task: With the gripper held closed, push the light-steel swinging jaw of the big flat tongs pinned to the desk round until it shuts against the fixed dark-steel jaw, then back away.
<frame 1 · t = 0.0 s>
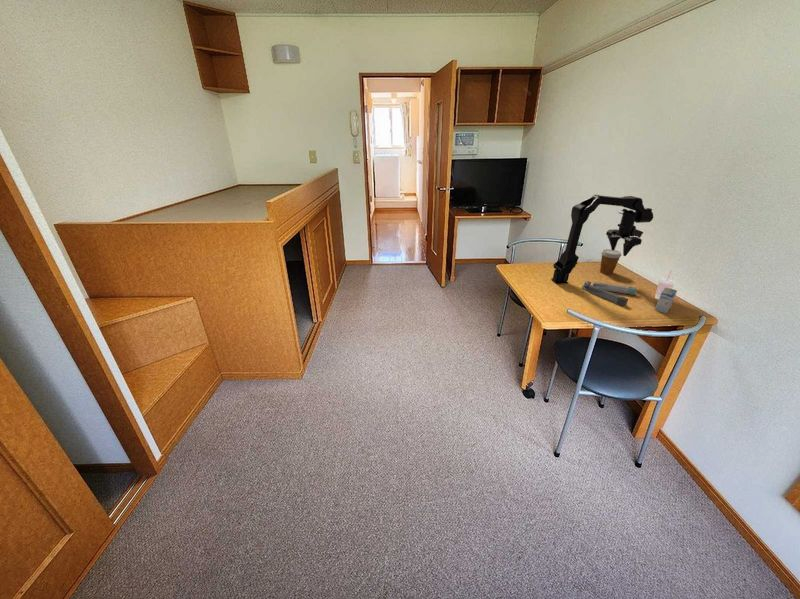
hand: (618, 253, 171), 15 cm above the table, fingers open, 9 cm apart
disposable coffee cup: (606, 272, 187), on the table
swinging jaw: (613, 288, 164), point 2 cm above the table, hinge at 38.0°
medicine box: (662, 309, 148), on the table
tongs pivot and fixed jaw: (586, 288, 168), on the table
beverage cup: (660, 298, 157), on the table
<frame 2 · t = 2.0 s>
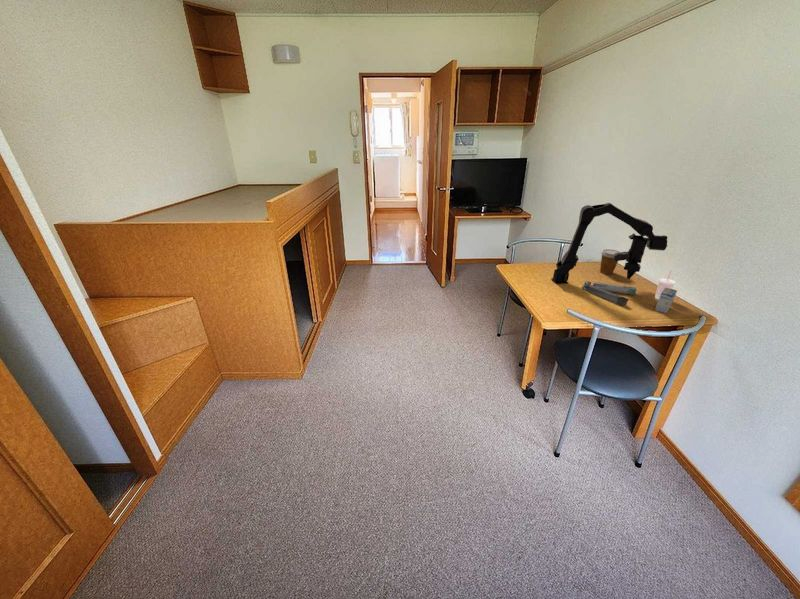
hand: (628, 278, 165), 5 cm above the table, fingers closed
nothing on the table moved.
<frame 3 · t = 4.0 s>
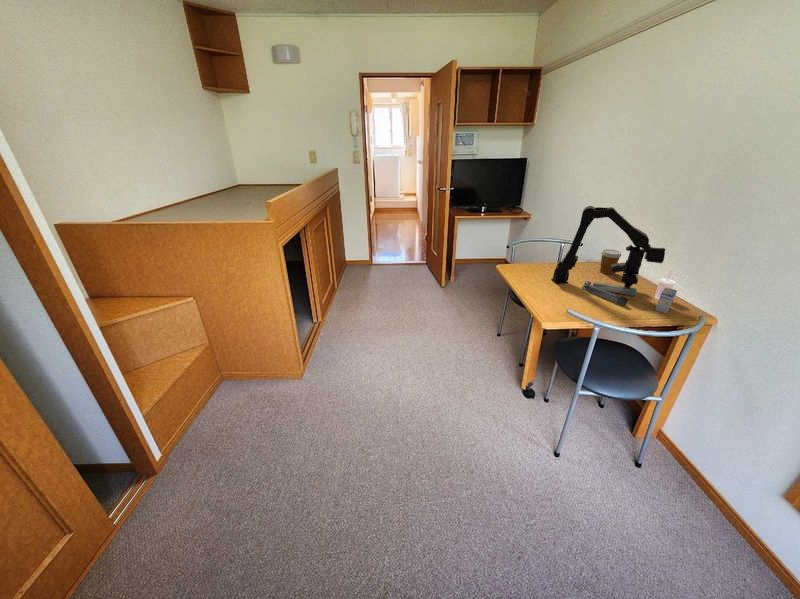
hand: (625, 289, 163), 1 cm above the table, fingers closed
swinging jaw: (613, 288, 163), point 2 cm above the table, hinge at 34.9°, touching gripper
everything else where it was.
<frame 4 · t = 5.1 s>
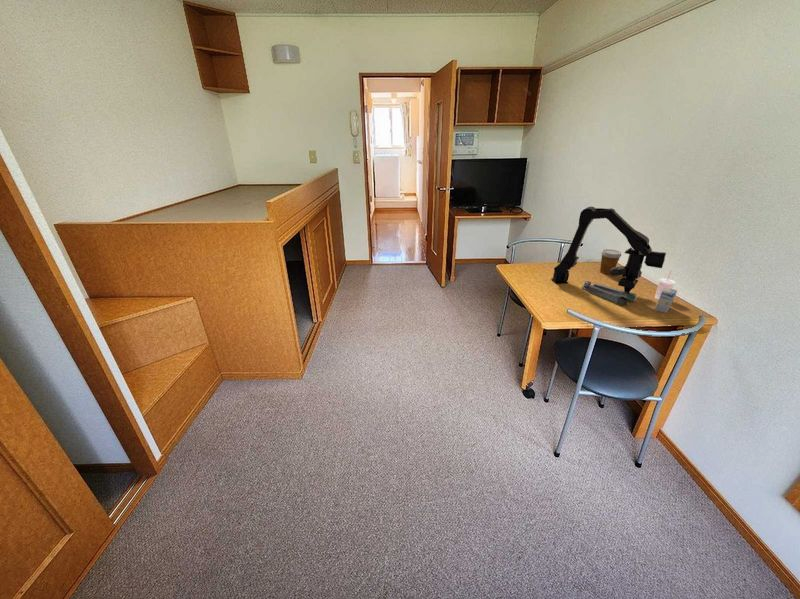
hand: (625, 294, 158), 1 cm above the table, fingers closed
swinging jaw: (613, 291, 160), point 2 cm above the table, hinge at 14.3°, touching gripper
everything else where it was.
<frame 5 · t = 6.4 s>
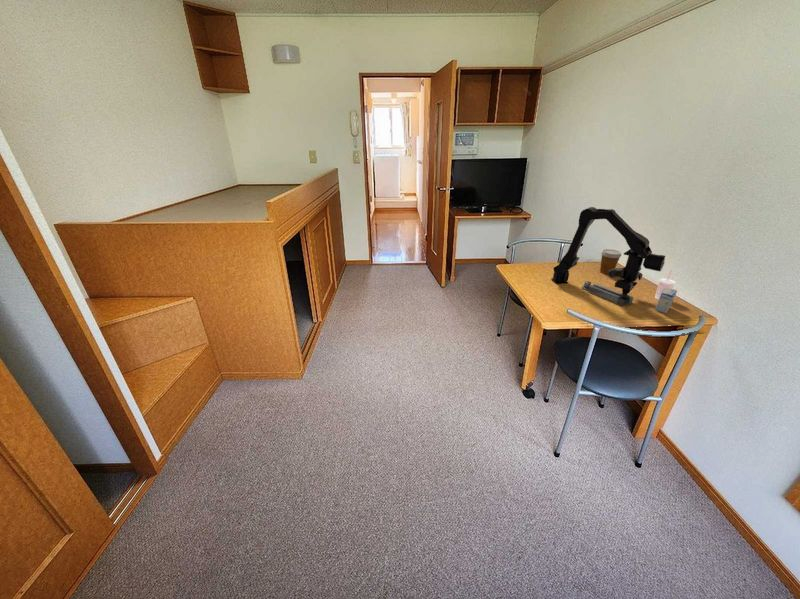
hand: (623, 296, 156), 1 cm above the table, fingers closed
swinging jaw: (611, 293, 159), point 2 cm above the table, hinge at 2.7°, touching gripper
everything else where it was.
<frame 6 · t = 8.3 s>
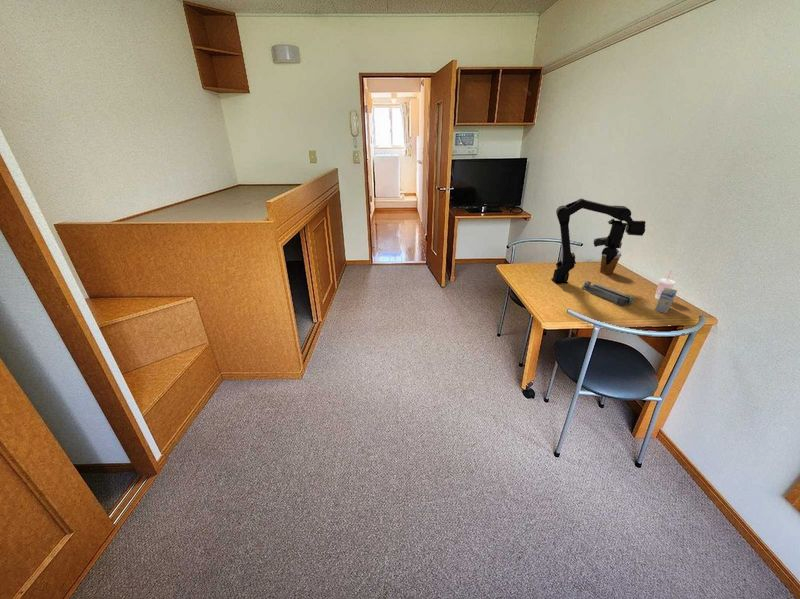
hand: (607, 264, 165), 12 cm above the table, fingers closed
swinging jaw: (611, 293, 159), point 2 cm above the table, hinge at 2.7°
everything else where it was.
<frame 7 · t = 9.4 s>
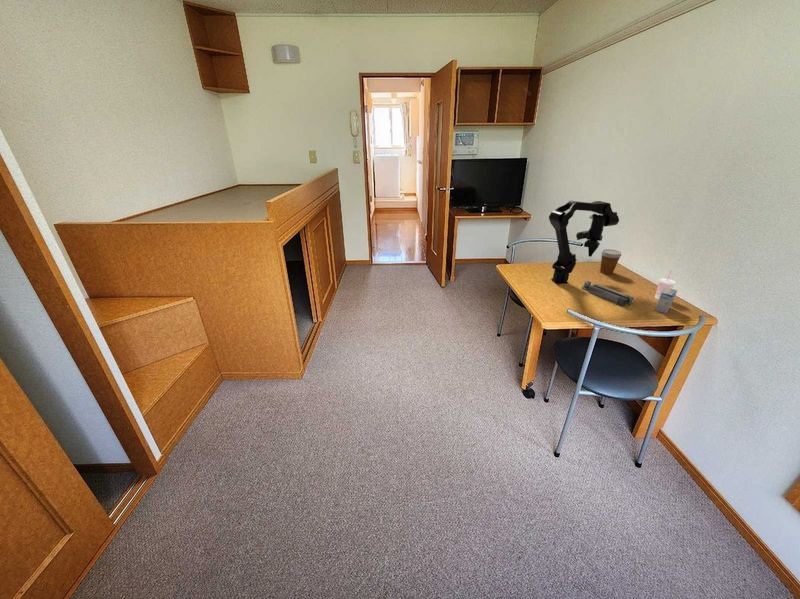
hand: (589, 256, 175), 12 cm above the table, fingers closed
nothing on the table moved.
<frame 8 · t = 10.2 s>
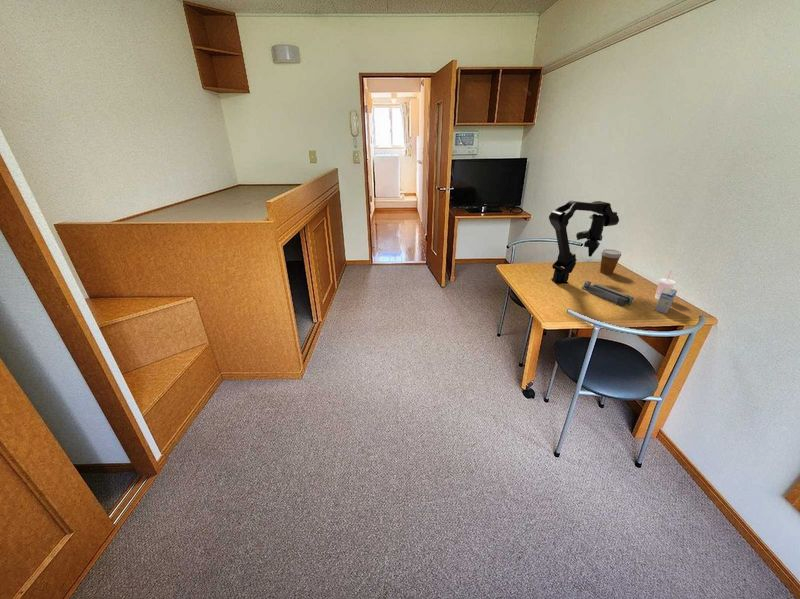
hand: (589, 256, 175), 12 cm above the table, fingers closed
nothing on the table moved.
at the end: swinging jaw at +3° (first picture: +38°) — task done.
